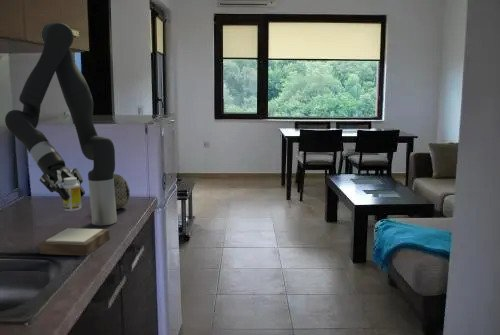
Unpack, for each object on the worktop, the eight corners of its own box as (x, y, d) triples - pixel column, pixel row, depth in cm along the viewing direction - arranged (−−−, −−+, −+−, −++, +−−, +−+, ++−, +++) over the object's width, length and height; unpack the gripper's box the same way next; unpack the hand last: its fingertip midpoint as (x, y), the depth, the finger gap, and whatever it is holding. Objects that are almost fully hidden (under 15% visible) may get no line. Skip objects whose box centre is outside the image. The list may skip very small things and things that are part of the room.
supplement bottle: (83, 206, 162) (81, 176, 160) (79, 211, 156) (76, 179, 154) (66, 207, 161) (63, 176, 159) (61, 211, 156) (58, 180, 154)
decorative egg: (96, 211, 204) (94, 176, 201) (112, 204, 215) (109, 171, 212) (121, 213, 201) (119, 177, 198) (135, 206, 212) (133, 172, 209)
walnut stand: (66, 237, 170) (65, 226, 169) (109, 239, 167) (108, 227, 167) (40, 253, 154) (38, 241, 154) (87, 255, 152) (86, 243, 151)
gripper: (33, 153, 153) (62, 194, 149) (69, 148, 165) (97, 185, 162) (23, 169, 156) (52, 209, 153) (60, 162, 169) (87, 199, 165)
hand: (75, 196), depth 157 cm, fingers closed on supplement bottle, 5 cm apart
